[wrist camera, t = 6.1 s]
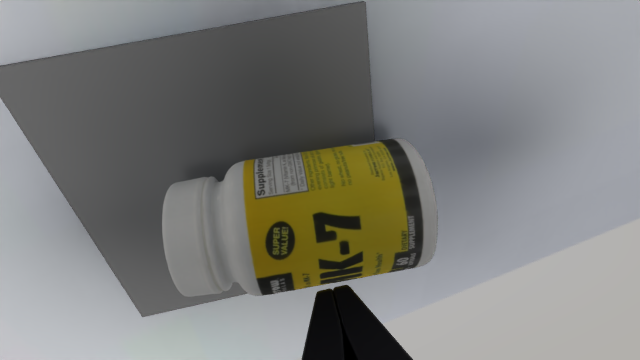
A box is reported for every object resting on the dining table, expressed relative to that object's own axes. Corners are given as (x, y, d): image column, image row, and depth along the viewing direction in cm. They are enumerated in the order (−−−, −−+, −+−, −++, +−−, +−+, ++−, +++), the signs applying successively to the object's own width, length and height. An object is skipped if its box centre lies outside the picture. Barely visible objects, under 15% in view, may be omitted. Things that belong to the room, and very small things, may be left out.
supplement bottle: (432, 292, 13) (195, 338, 12) (390, 206, 17) (206, 237, 16) (451, 190, 10) (141, 242, 9) (396, 112, 14) (171, 146, 13)
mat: (363, 1, 12) (365, 2, 12) (380, 258, 18) (382, 262, 18) (-11, 67, 11) (-17, 70, 11) (143, 311, 18) (142, 317, 17)
